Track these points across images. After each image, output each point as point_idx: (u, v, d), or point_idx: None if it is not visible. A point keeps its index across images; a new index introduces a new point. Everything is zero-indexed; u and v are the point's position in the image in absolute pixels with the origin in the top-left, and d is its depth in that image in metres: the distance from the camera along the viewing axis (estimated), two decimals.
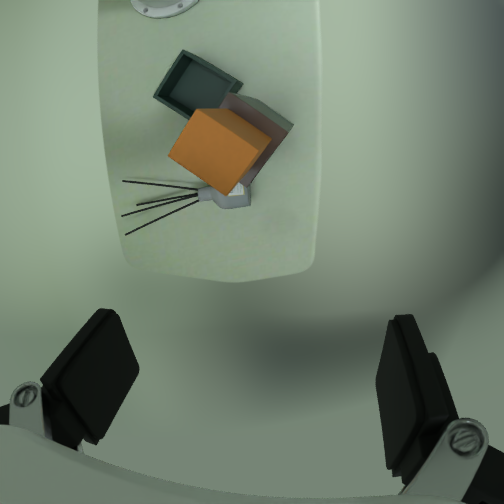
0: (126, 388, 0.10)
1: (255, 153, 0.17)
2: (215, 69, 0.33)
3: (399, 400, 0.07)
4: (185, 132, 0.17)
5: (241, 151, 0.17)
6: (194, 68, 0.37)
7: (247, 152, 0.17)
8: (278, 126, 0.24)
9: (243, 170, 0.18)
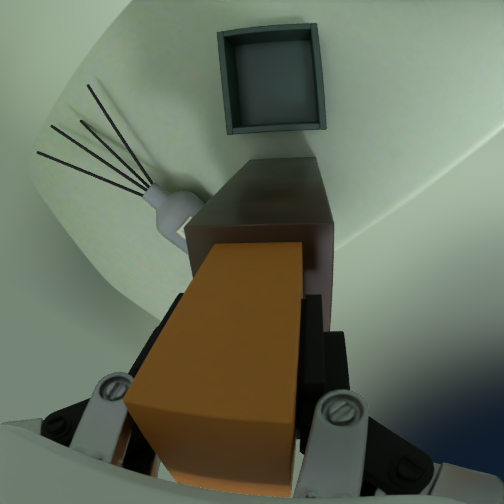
0: None
1: (281, 496, 0.07)
2: (321, 88, 0.20)
3: None
4: (207, 421, 0.05)
5: (266, 487, 0.07)
6: (296, 50, 0.22)
7: (273, 491, 0.07)
8: (328, 327, 0.14)
9: (238, 492, 0.07)
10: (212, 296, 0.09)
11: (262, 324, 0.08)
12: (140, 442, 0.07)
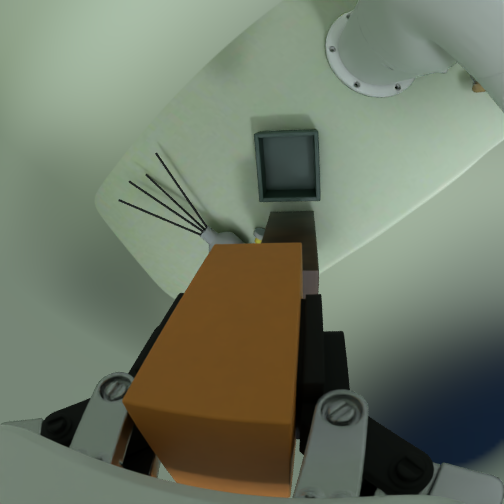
0: None
1: None
2: (318, 175, 0.36)
3: None
4: (207, 422, 0.05)
5: (266, 488, 0.07)
6: (303, 140, 0.38)
7: (272, 492, 0.07)
8: None
9: (238, 493, 0.07)
10: (211, 297, 0.09)
11: (261, 325, 0.08)
12: (140, 442, 0.07)
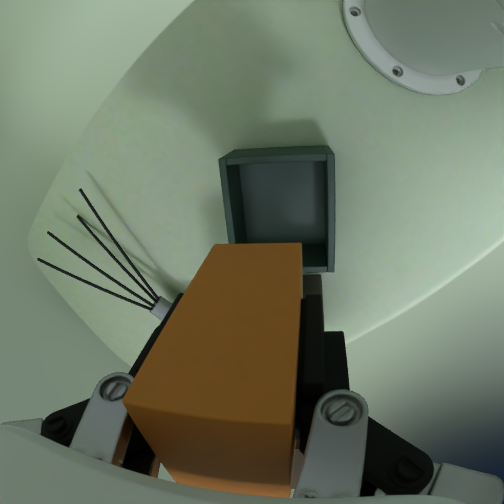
0: None
1: None
2: (332, 232, 0.21)
3: None
4: (207, 422, 0.05)
5: (266, 488, 0.07)
6: (307, 165, 0.23)
7: (272, 492, 0.07)
8: None
9: (238, 493, 0.07)
10: (211, 297, 0.09)
11: (261, 325, 0.08)
12: (140, 442, 0.07)
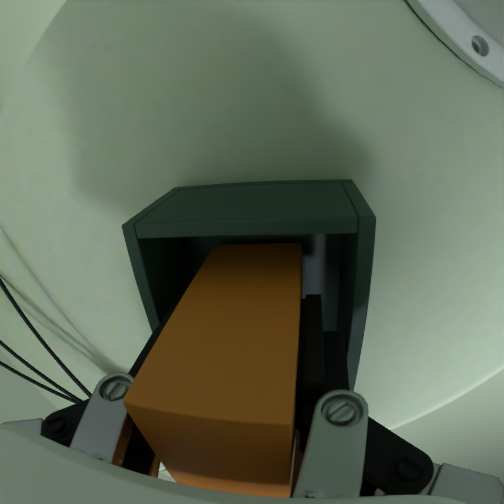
0: None
1: (280, 496, 0.07)
2: (353, 362, 0.10)
3: None
4: (207, 422, 0.05)
5: (266, 488, 0.07)
6: None
7: (272, 492, 0.07)
8: None
9: (238, 493, 0.07)
10: (211, 298, 0.09)
11: (261, 326, 0.08)
12: (140, 442, 0.07)
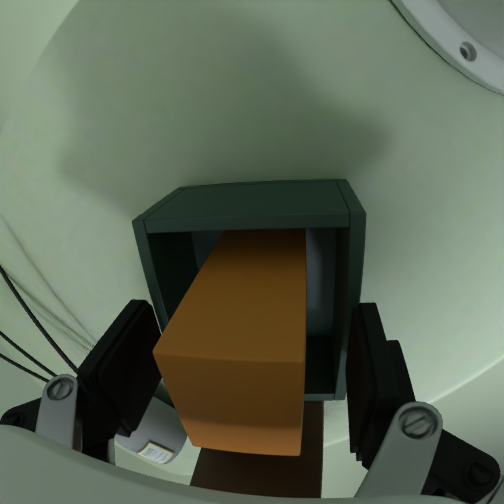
0: (157, 379, 0.11)
1: (291, 454, 0.08)
2: None
3: (358, 383, 0.08)
4: (230, 364, 0.07)
5: (278, 444, 0.08)
6: None
7: (284, 449, 0.08)
8: None
9: (251, 452, 0.08)
10: (227, 268, 0.10)
11: (273, 288, 0.09)
12: (92, 439, 0.07)
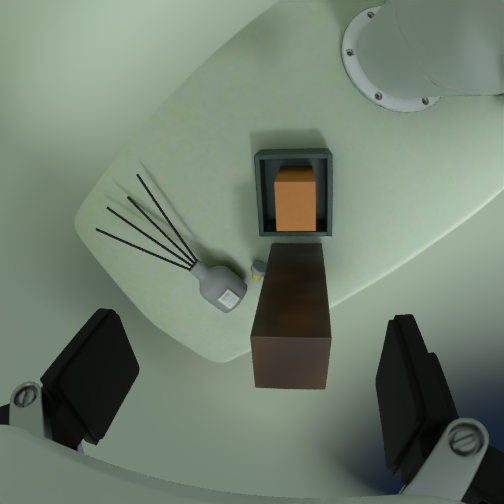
0: (126, 388, 0.10)
1: (312, 230, 0.27)
2: (330, 207, 0.30)
3: (399, 400, 0.07)
4: (296, 183, 0.26)
5: (308, 222, 0.27)
6: (313, 162, 0.33)
7: (310, 225, 0.27)
8: (324, 382, 0.24)
9: (298, 230, 0.28)
10: (287, 172, 0.30)
11: (304, 174, 0.28)
12: (62, 443, 0.07)
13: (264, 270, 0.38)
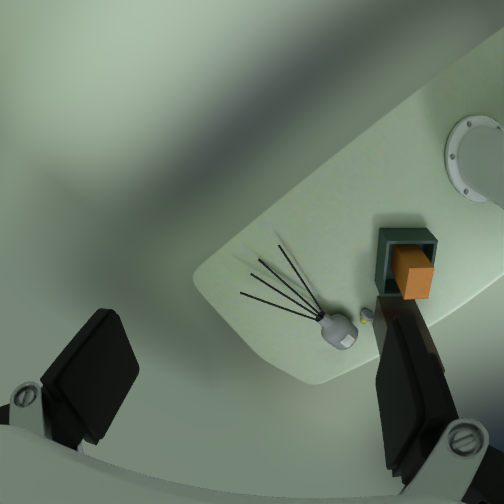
0: (126, 388, 0.10)
1: (426, 297, 0.35)
2: None
3: (399, 400, 0.07)
4: (422, 269, 0.34)
5: (424, 293, 0.35)
6: None
7: (425, 295, 0.35)
8: None
9: (417, 298, 0.36)
10: (407, 253, 0.38)
11: (420, 257, 0.36)
12: (61, 443, 0.07)
13: (371, 316, 0.46)
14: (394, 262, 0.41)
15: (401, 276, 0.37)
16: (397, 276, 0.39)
